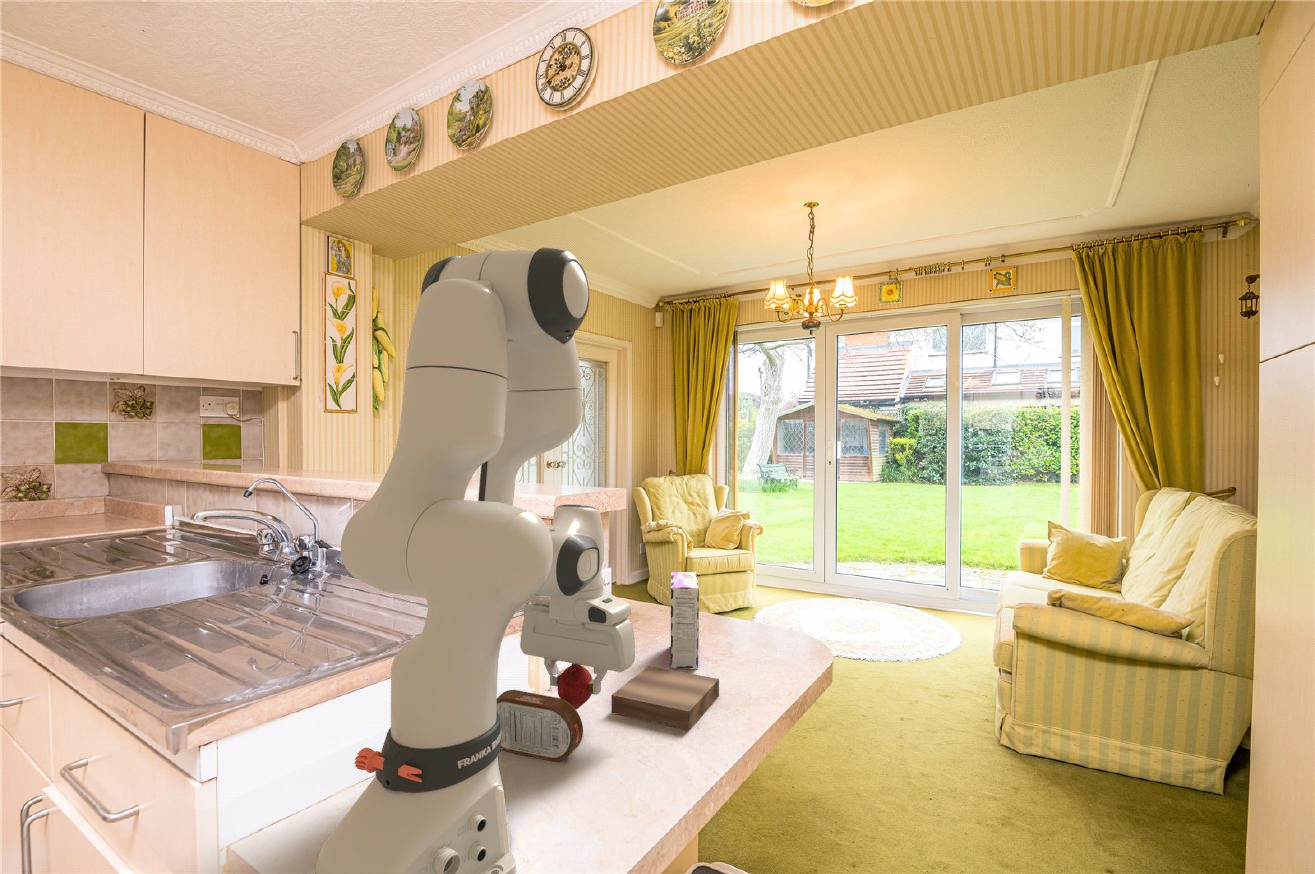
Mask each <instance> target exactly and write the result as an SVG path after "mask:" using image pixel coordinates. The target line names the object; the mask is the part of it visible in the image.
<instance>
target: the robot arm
mask: <svg viewBox="0 0 1315 874" xmlns="http://www.w3.org/2000/svg"><path fill="white" fill-rule="evenodd" d="M421 284H422V285H421V291H420V297H419V301H418V305H417V306H416V307H417V308H416V310H415V314H414V318H413V322H412V326H411V331H410V335H409V341H408V346H407V347H408V348H407V355H406V362H405V373H404V383H403V385H404V386H403V395H402V404H401V405H402V406H401V413H400V422H399V431H398V437H397V442H396V445H395V449H394V452H393V454H392V458H391V459H390V462H389V464H388V467H387V470H386V472H385V474H384V476H383V478H382V480H381V482H380V484H379V486H378V488H377V490H376V491H375V492H374V494H373V495H372V497H371V498H370V499H369V500H368V501H367V502H366V503H365V504H364V505H363V506H361V507H360V508H359V509H358V510H356V512H355V513H353V514H352V515H351V517H350V519H349V520H348V522H347V523H346V525H345V527H344V530H343V533H342V536H341V541H340V555H341V559H342V562H343V565H344V566H345V567H344V568H345V569H346V571H348V573H349V574H350V575H351V576H352V577H353V578H355V579H356V580H359V581H360V582H363V583H365V584H366V585H369V586H370V587H373V588H375V589H376V590H377V589H378V590H380V591H382V592H385V593H389V594H394V595H403V596H408V597H417V598H423V599H426V604H427V613H426V618H425V623H424V625H423V628H422V632H421V633H420V634H418V635H416V636H415V637H413V638H412V639H410V640H408V641H407V643H405V644H404V645H403V646H402V647H401V648H400V649H399V651H397V653H396V655H395V656H394V658H393V661H392V663H391V666H390V667H391V668H390V727H389V729H388V731H387V733H386V735H385V739H384V742H383V746H382V749H381V751H379V750H374V749H372V748H370V747H364V748H362V749H360V750H359V751H358V752H357V755H356V757H354V760H355V761H354V762H353V763H354V767H355V768H356V769H357V770H360V771H366V772H367V773H369V774H373V773H375V776H374V778H372V780H371V781H370V782H369V784H368V785H367V787H366V788H365V789H364V790H363V792H362V793H361V794H360V796H359V797H358V799H357V800H355V802H354V804H353V805H352V807H351V808H350V809H349V810H348V811H347V813H346V814H345V816H344V817H343V818H342V819H341V821H340V822H339V823H338V825H337V826H336V828H335V829H334V830H333V831H332V832H331V834H330V835H329V836H328V838H327V839H326V840H325V842H323V844H322V846H321V847H320V851H319V854H318V856H317V859H316V864H315V869H314V874H517V867H516V860H515V857H514V854H513V852H512V850H511V849H512V832H511V830H510V826H509V825H508V824H509V823H508V819H507V809H506V800H505V798H506V797H505V791H504V786H503V781H502V776H501V771H500V765H499V759H498V757H499V754H500V753H501V752H500V751H501V750H502V748H501V736H502V730H501V726H500V715H499V713H498V712H497V698H498V673H499V671H498V669H499V658H500V650H501V646H502V643H503V638H504V635H505V633H506V630H507V628H508V626H509V623H511V621H512V618H514V616H515V615H516V612H518V611H519V609H520V608H521V607H523V606H524V607H523V620H522V626H521V633H520V640H519V644H520V645H519V647H520V649H521V651H522V653H523V654H524V655H526V656H532V657H538V658H543V663H544V668H545V670H546V671H547V673H548V675H549V685H550V686H552V687H557V688H558V681H559V678H560V676H561V674H562V673H563V672H560V670H559V667H558V665H557V662H564V663H569V664H572V663H574V664H579V665H581V666H583V667H591V668H593V674H594V675H595V676H594V679H593V678H592V679H593V680H592V681H590V682H589V683H588V693H589V694H592V695H595V696H597V695H599V694H600V693H601V691H602V681H603V680H604V678H605V676H606V675H607V673H608V671H611V672H616V673H623V672H625V671H626V670H628V669H629V668H630V667H631V666H632V665H634V662H635V660H636V641H635V640H636V639H635V631H634V627H633V624H632V622H631V621H630V619H628V617H629V616H631V614H632V605H631V604H630V603H629V602H627V601H625V600H623V599H621V598H619V597H618V596H615V594H614V595H613V594H611V593H610V592H608V591H607V590H604V589H605V588H604V587H605V586H604V584H605V583H604V579H603V575H602V568H603V563H604V559H605V539H604V538H605V537H604V525H603V519H602V514H601V511H600V510H599V509H598V508H596V507H594V506H590V505H581V504H560V505H558V506H556V507H555V508H554V510H553V511H554V512H553V516H552V522H551V523H552V524H551V526H550V527H549V528H548V526H547V524H546V523H545V521H544V519H542V517H541V516H540V515H538V514H537V513H535V512H532V511H529V510H526V509H523V508H520V507H518V506H514V499H515V498H514V497H515V488H516V487H515V486H516V478H517V474H518V472H519V470H520V468H521V467H522V466H523V465H524V464H525V463H526V462H528V461H530V460H531V459H532V458H535V457H537V456H540V455H542V454H545V453H547V452H549V451H552V450H555V449H556V448H558V447H560V446H562V445H563V444H564V443H566V442H568V440H570V438H571V437H573V436H574V434H575V432H577V430H578V429H579V426H580V424H581V421H582V414H583V393H582V376H581V367H580V361H579V354H578V348H577V343H576V340H575V333H576V331H577V330H578V329H579V328H580V327H581V325H582V324H583V322H584V320H585V318H586V316H587V313H588V311H589V304H590V289H589V288H590V287H589V281H588V277H587V274H586V271H585V269H584V267H583V265H582V264H581V262H580V261H579V260H578V259H577V257H575V255H574V254H573V253H571V252H570V251H568V250H563V249H560V248H551V247H550V248H549V247H541V248H538V249H506V250H503V249H491V250H484V251H479V252H475V253H470V254H467V255H461V256H460V255H452V256H450V257H446V258H443V259H441V260H438V261H437V262H435V263H433V264H432V265H431V266H430V267H429V268H428V269H427V271H426V273H425V275H424V278H423V279H422V283H421ZM479 468H480V477H479V486H478V497H477V498H478V499H477V500H471V499H470V500H466V499H465V497H466V493H467V490H468V486H469V484H470V481H471V479H472V477H473V476H474V474H475V473H476V471H477V470H478V469H479ZM537 596H538V597H537ZM541 596H542V597H548V599H547V598H545V599H543V598H539V597H541Z"/></svg>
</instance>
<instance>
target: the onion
mask: <svg viewBox="0 0 1315 874" xmlns="http://www.w3.org/2000/svg"><path fill="white" fill-rule="evenodd" d="M561 673H562V674H561V676H560V678H559V681H558V687H557V689H556V690H557V695H558V698H561V699H563V700H565V701H567V702H568V703H570V704H571V705H572V706H573V707H574V708H575V709H576V710H578V709H580V707H582V706H583V705H584V704H586V703H587V702H588V700H589V699H590V698H591V696H592V695H593V694H589V693H588V683H589V682H590V681H592V680H593V676H592V674H591V672H590V671H589V670H588V669H587V668H586V666H584V665H579V664H574V663H571V664H570V665H569V666H568V667H566V669H564V671H562V672H561Z"/></svg>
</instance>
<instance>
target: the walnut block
mask: <svg viewBox="0 0 1315 874" xmlns="http://www.w3.org/2000/svg"><path fill="white" fill-rule="evenodd" d="M719 696H720V679H719V678H715V677H711V676H707V675H706V676H705V675H700V674H693V673H689V672H684V671H677V670H672V669H667V668H661V667H656V666H651V665H648V666H646V667H645V668H644V669H643V670H642V671H640V672H639V673H638V674H636V675H635V676H633V677H632V678H631V679H630V680H629V681H627V682H626V683H625V684H624V685H622V686H621V687H620V688H618V689H617V690H616V691H615V692H613V693H612V694H611V712H610V713H611V714H615V715H618V716H622V717H623V716H624V717H628V718H632V719H637V720H641V721H646V722H649V723H654V724H659V725H663V726H667V727H670V728H671V727H672V728H676V729H682V730H684V731H690V730H691V729H692V728H693V727H694V725H696V723H697V722H698V721H699V720H700V719H701V718H702V716H703V715H704V714H705V713H706V712H707V711H708V709H709V708H710V707H711V706H712V704H714V702H716V700H717V699H718V698H719Z"/></svg>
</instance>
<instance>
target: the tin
mask: <svg viewBox="0 0 1315 874" xmlns="http://www.w3.org/2000/svg"><path fill="white" fill-rule="evenodd" d="M497 712H498V713H499V715H500V726H501V730H502V736H501V750H503V751H505V752H508V753H514V754H518V755H523V756H527V757H532V758H537V759H541V760H545V761H550V762H560V761H563V760H564V759H566V758H568V757H569V756H570V755H571V754H572V753H573V752H574V751H575V750H576V749H577V748H578V747H579V746H580V744H581V742H582V740H583V735H584V726H583V721H582V718H581V716H580V714H579V713H578V711H577V709H575V708H574V707H573V706H572V705H571V704H570V703H568V702H567V701H565V700H563V699H561V698H560V697H556V696H551V695H544V694H540V693H539V694H538V693H535V692H534V693H533V692H527V691H523V690H519V689H509V690H506V691H504V692H502V693H500V694H499V695H498V696H497Z"/></svg>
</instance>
